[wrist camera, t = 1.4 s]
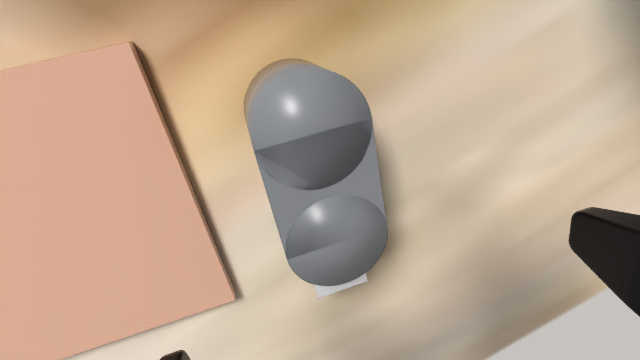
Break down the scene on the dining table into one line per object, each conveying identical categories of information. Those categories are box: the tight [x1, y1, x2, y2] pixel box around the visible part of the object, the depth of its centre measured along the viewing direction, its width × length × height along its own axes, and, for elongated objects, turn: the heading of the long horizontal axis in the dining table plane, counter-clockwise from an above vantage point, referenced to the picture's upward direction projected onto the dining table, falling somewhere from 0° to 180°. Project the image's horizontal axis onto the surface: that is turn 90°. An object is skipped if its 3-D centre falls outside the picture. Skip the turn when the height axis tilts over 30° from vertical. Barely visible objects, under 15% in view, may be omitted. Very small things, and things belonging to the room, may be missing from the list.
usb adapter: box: [244, 59, 387, 298], centre depth 15 cm, size 10×4×4 cm, turn 12°
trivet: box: [0, 42, 235, 360], centre depth 14 cm, size 12×12×1 cm
